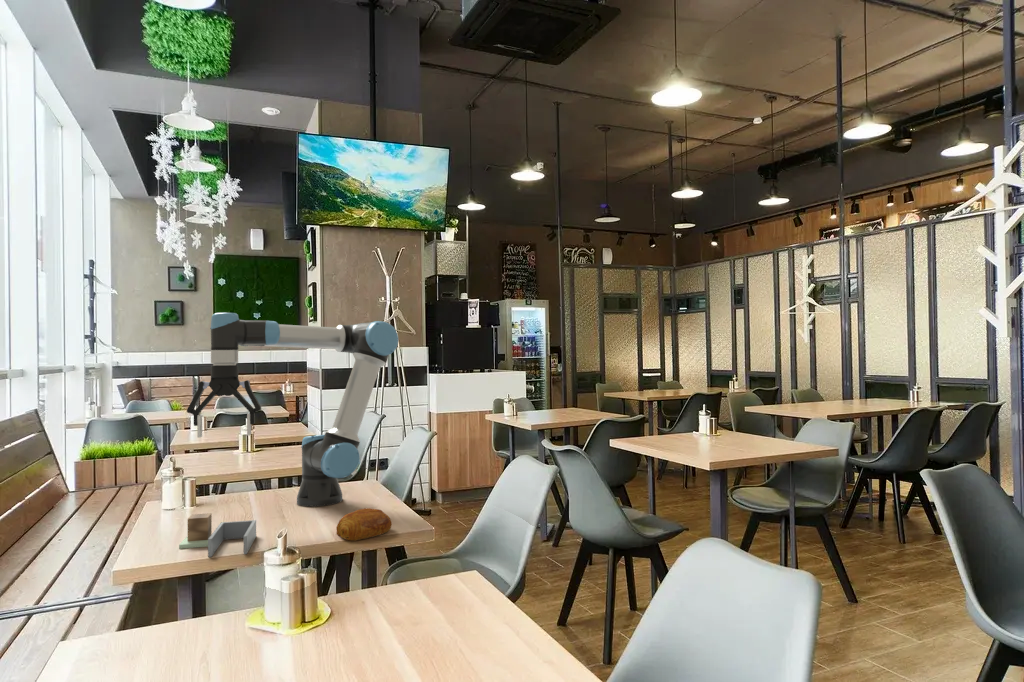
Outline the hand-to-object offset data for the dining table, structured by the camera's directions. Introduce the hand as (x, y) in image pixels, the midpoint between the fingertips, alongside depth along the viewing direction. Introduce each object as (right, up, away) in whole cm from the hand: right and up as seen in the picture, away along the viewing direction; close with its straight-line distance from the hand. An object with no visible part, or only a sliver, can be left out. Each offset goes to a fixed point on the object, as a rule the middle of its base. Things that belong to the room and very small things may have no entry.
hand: (224, 436), depth 193 cm
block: (+1, -25, -17) cm, 30 cm away
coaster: (+1, -26, -18) cm, 32 cm away
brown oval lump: (+43, -26, -10) cm, 52 cm away
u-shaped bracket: (+12, -26, -21) cm, 35 cm away
